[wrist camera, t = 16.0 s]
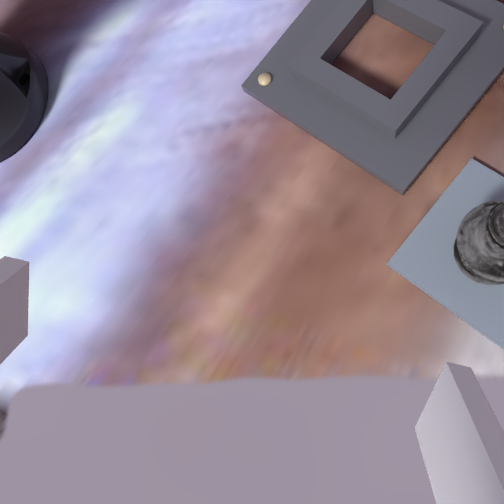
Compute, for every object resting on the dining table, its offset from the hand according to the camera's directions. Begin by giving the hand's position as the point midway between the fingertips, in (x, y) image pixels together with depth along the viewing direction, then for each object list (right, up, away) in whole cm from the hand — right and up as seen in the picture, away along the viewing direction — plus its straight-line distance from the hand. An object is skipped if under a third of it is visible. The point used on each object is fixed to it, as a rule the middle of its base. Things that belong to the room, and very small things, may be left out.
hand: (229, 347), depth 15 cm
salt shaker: (+19, +3, +22) cm, 29 cm away
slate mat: (+19, +3, +22) cm, 29 cm away
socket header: (+12, +20, +28) cm, 37 cm away
